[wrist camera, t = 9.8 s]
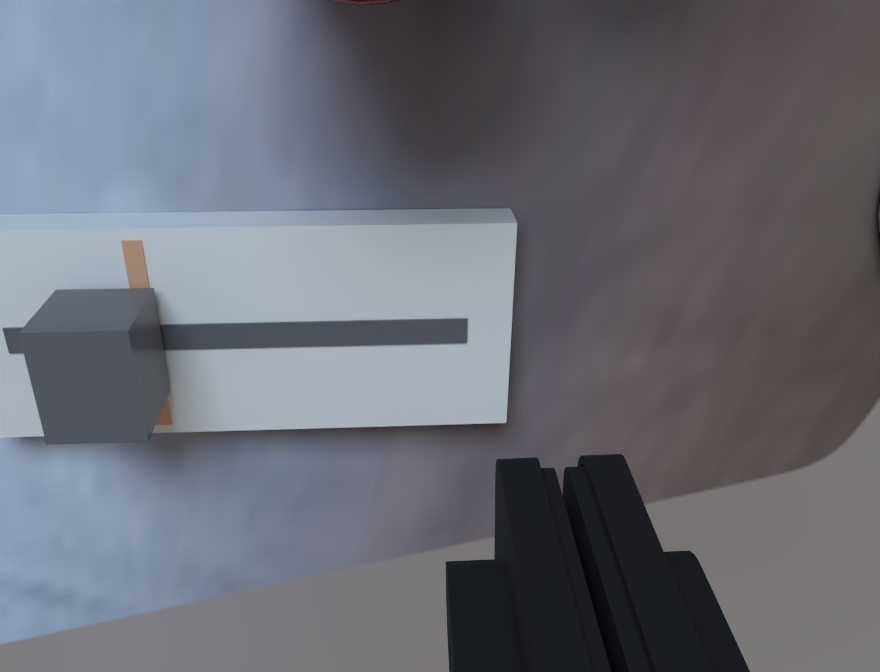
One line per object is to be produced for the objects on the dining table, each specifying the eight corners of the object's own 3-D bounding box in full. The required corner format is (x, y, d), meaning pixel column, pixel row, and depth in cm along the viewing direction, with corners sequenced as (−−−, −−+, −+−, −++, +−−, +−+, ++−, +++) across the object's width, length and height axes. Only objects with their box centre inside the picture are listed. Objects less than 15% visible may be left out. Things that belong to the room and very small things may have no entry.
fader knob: (153, 287, 34) (128, 330, 31) (170, 390, 37) (148, 441, 33) (55, 289, 34) (18, 332, 31) (78, 392, 36) (46, 444, 33)
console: (510, 208, 36) (517, 224, 35) (500, 400, 41) (506, 424, 39) (-51, 214, 35) (-75, 231, 33) (4, 414, 39) (-14, 439, 38)
